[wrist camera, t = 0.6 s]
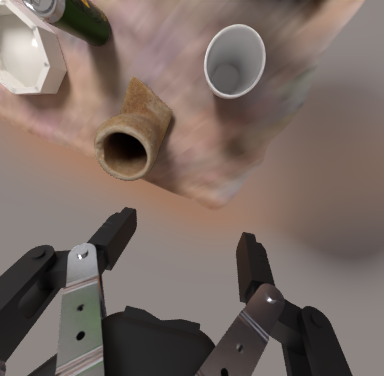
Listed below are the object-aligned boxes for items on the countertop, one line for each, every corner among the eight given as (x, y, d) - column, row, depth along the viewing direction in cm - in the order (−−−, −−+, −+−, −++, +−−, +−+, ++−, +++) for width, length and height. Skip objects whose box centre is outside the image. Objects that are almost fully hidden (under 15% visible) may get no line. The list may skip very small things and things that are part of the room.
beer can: (106, 54, 32) (54, 29, 22) (79, 35, 32) (11, 0, 21) (116, 21, 30) (63, -24, 19) (87, 0, 29) (15, -59, 19)
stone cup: (159, 169, 42) (134, 200, 28) (114, 144, 40) (64, 164, 27) (189, 108, 35) (174, 111, 22) (136, 76, 33) (84, 57, 20)
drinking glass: (250, 86, 32) (276, 74, 19) (218, 107, 34) (221, 110, 21) (234, 48, 30) (250, 4, 17) (200, 73, 32) (191, 52, 19)
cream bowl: (-18, 13, 32) (-47, 1, 28) (47, 5, 30) (25, -8, 27) (17, 95, 38) (-4, 95, 34) (73, 92, 36) (58, 91, 32)
